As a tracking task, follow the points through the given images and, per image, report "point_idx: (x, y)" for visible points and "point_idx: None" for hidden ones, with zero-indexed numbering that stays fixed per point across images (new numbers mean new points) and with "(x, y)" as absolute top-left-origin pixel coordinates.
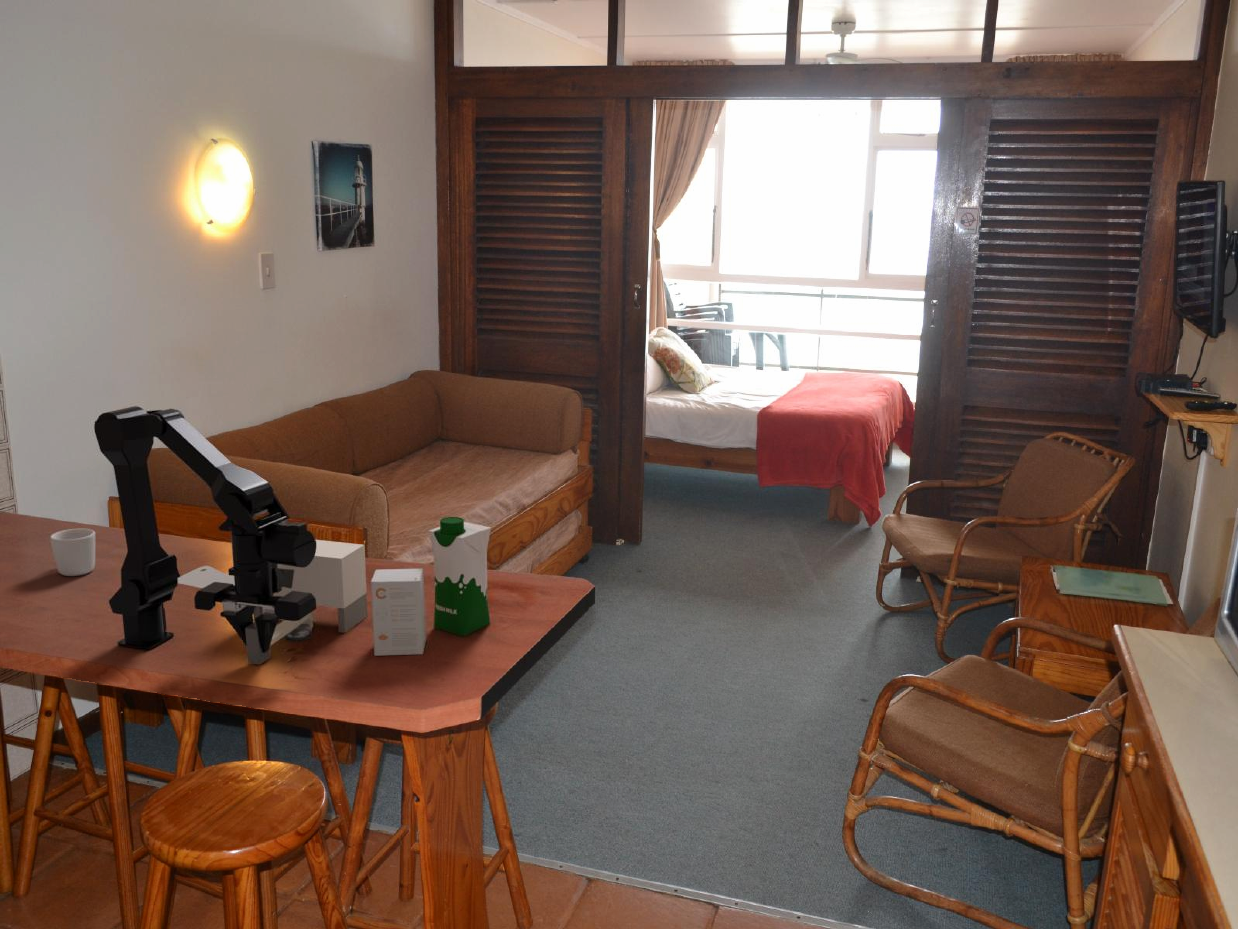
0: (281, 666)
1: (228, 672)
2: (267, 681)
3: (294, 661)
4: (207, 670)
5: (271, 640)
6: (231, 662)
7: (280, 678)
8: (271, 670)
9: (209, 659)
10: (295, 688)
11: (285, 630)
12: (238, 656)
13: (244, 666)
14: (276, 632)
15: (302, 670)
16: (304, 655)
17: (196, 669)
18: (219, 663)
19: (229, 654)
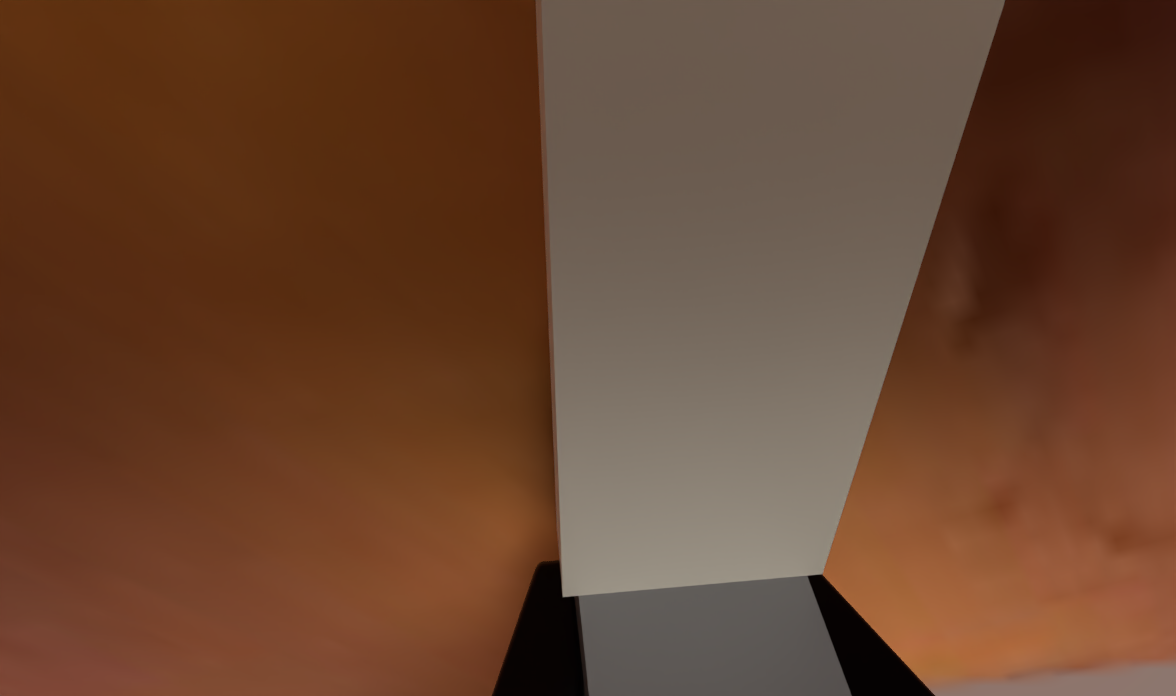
0: (918, 438)
1: (482, 646)
2: (893, 640)
3: (1034, 306)
4: (274, 675)
5: (824, 545)
6: (337, 528)
7: (984, 586)
8: (848, 521)
9: (42, 552)
10: (1141, 641)
11: (960, 135)
12: (274, 410)
13: (537, 543)
14: (781, 308)
15: (1163, 437)
16: (1141, 112)
17: (164, 691)
18: (240, 574)
19: (111, 404)
